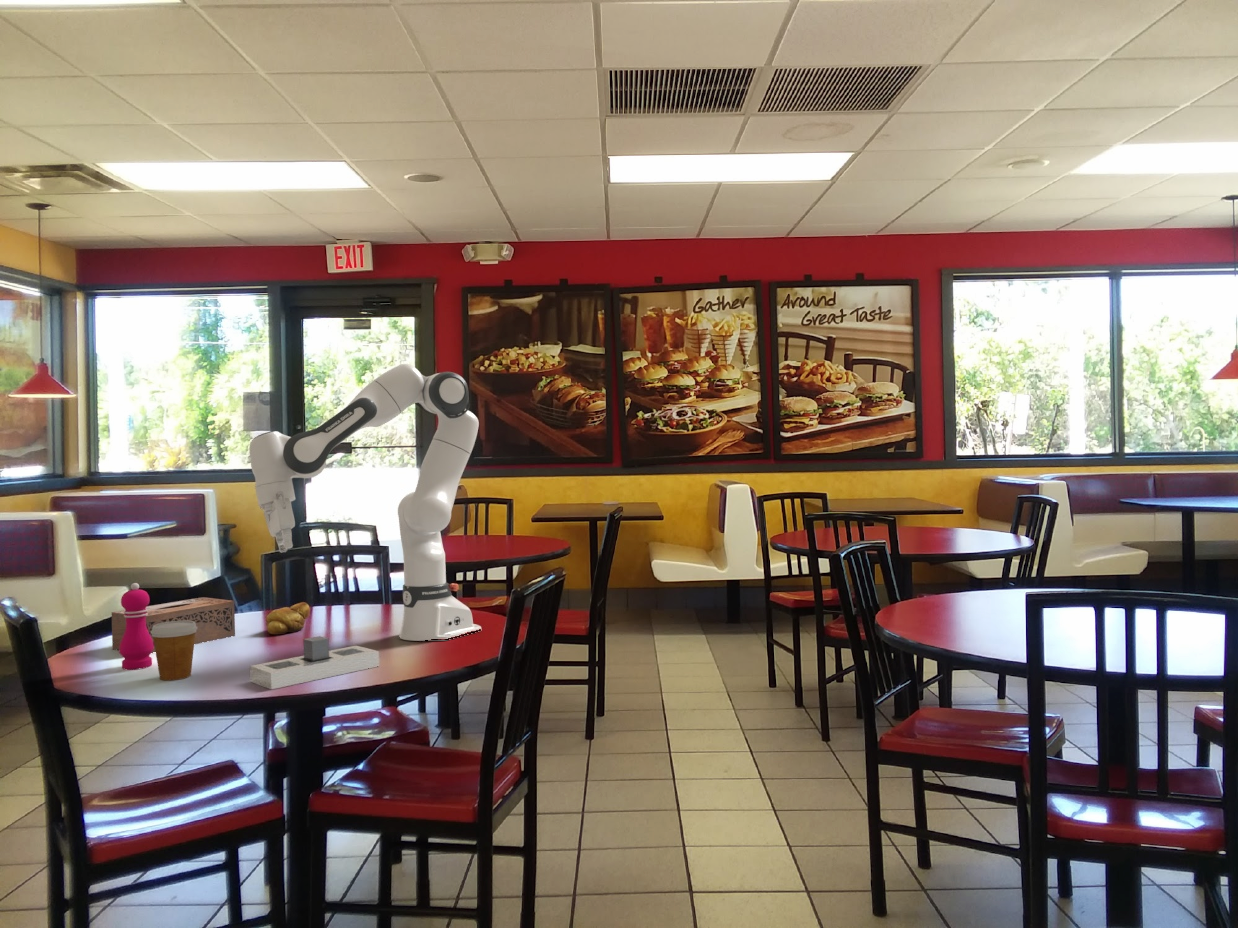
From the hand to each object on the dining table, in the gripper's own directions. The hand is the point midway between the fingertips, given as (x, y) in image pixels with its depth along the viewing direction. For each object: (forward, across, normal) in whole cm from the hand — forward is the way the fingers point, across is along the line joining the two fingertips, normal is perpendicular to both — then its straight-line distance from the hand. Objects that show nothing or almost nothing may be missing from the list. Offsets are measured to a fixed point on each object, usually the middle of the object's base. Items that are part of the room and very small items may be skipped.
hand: (286, 550), depth 223 cm
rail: (+30, -20, +1) cm, 36 cm away
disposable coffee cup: (+24, -6, +29) cm, 38 cm away
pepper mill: (+20, +10, +36) cm, 43 cm away
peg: (+30, -20, +1) cm, 36 cm away
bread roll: (+20, +35, 0) cm, 41 cm away
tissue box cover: (+17, +36, +27) cm, 48 cm away
